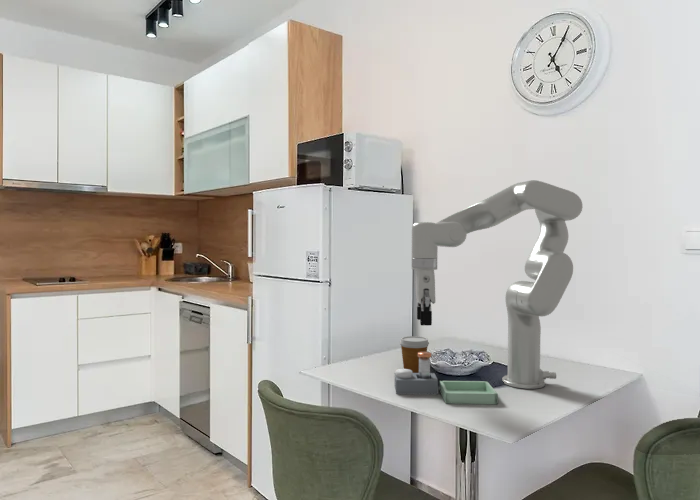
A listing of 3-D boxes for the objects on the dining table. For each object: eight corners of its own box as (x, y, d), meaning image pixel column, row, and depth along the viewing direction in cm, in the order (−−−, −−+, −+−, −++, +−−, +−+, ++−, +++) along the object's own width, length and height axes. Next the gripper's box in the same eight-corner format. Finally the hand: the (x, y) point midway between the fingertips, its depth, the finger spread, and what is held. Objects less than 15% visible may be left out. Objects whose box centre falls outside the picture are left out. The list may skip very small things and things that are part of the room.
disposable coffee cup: (428, 380, 162) (428, 342, 162) (397, 378, 164) (398, 341, 164) (429, 372, 171) (429, 336, 171) (401, 370, 173) (401, 335, 173)
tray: (487, 390, 151) (487, 381, 151) (497, 404, 139) (497, 393, 139) (439, 390, 151) (439, 380, 151) (445, 403, 139) (445, 393, 139)
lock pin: (430, 388, 154) (430, 351, 153) (431, 392, 150) (432, 354, 149) (416, 387, 154) (416, 351, 153) (418, 392, 150) (418, 354, 149)
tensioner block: (434, 386, 155) (434, 367, 155) (437, 394, 147) (438, 375, 147) (394, 385, 156) (394, 367, 156) (396, 393, 148) (396, 374, 148)
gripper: (441, 266, 142) (441, 327, 142) (433, 262, 159) (433, 317, 160) (414, 266, 142) (413, 327, 143) (409, 262, 159) (409, 317, 160)
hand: (424, 322), depth 151 cm, fingers open, 9 cm apart
